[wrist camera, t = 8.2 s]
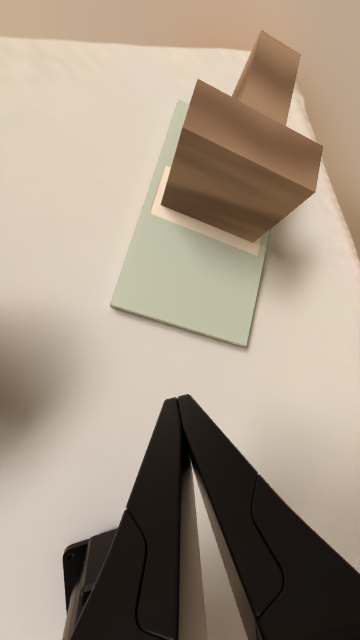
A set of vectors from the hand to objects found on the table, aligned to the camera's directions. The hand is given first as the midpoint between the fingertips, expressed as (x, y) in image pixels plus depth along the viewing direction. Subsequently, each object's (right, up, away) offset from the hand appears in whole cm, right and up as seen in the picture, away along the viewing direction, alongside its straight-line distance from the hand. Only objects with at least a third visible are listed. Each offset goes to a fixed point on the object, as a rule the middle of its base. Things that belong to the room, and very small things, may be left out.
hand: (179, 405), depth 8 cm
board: (+3, +14, +17) cm, 22 cm away
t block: (+4, +17, +16) cm, 24 cm away
